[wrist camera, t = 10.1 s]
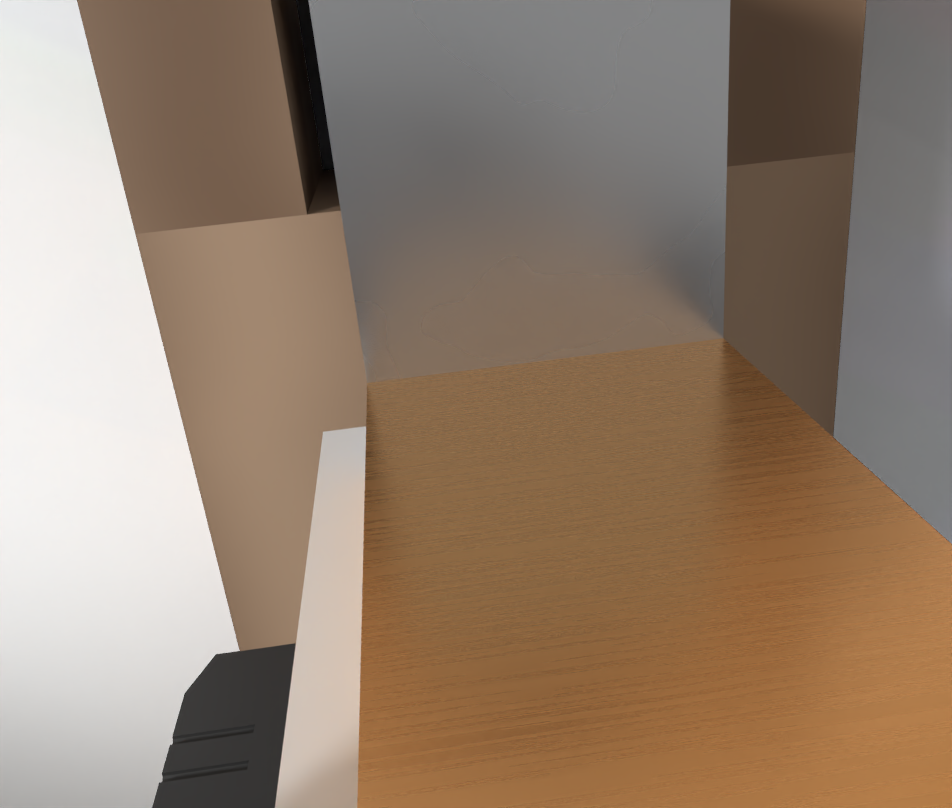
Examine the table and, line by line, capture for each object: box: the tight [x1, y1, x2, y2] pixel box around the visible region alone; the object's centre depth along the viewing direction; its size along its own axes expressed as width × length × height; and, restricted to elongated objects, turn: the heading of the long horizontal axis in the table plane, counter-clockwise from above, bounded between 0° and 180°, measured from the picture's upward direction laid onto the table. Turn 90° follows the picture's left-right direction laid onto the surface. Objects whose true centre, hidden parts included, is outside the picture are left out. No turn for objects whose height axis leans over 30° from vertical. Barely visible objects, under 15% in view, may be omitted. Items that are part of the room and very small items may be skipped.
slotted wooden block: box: [77, 0, 866, 651], centre depth 16 cm, size 10×26×4 cm, turn 6°
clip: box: [308, 0, 952, 808], centre depth 11 cm, size 4×13×14 cm, turn 5°
